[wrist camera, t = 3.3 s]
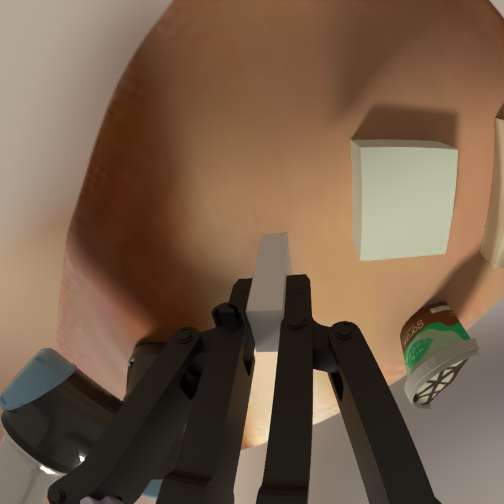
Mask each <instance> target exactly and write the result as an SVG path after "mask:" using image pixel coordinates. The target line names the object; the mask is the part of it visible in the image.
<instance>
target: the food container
mask: <svg viewBox="0 0 504 504" xmlns="http://www.w3.org/2000/svg"><path fill="white" fill-rule="evenodd" d="M400 339H401V344H402V349H403V354H404V359H405V364H406V370H407V376H408V380H407V382H406V384H405V393H406V395H407V397H408V399H409V401H410V402H411V403H412V404H413V406H414V407H416V408H419V409H431V406H430V402H431V401H432V400H433V398H434V397H435V396H436V395H437V394H438V393H439V392H440V391H442V390H443V389H444V388H446V387H447V386H448V385H449V384H450V383H451V382H452V381H453V380H454V378H455V377H456V375H457V374H458V372H459V371H460V369H461V368H462V366H463V365H464V364H465V362H466V361H467V360H468V359H469V358H470V357H474V356H479V353H478V345H477V341H476V339H475V338H474V339H470V337H469V336H468V334H467V333H466V331H465V329H464V328H463V326H462V325H461V323H460V322H459V320H458V319H457V317H456V316H455V314H454V313H453V311H452V310H451V308H450V307H449V305H448V304H447V302H439V303H435V304H432V305H429V306H427V307H425V308H423V309H421V310H419V311H418V312H417V313H415V314H414V315H413V316H412V317H410V319H409V320H408V321H407V322H406V323H405V325H404V326H403V328H402V330H401V334H400Z"/></svg>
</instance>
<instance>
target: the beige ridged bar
mask: <svg viewBox="0 0 504 504" xmlns="http://www.w3.org/2000/svg"><path fill="white" fill-rule="evenodd" d="M480 254H481V255H482V256H483V257H484V258H485V260H486V261H487V262H488V263H489V264H490V266H491V267H492V268H493V269H498V268H503V267H504V120H503V119H498V118H495V156H494V170H493V181H492V190H491V197H490V204H489V211H488V216H487V222H486V227H485V232H484V237H483V241H482V245H481V250H480Z"/></svg>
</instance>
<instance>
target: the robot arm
mask: <svg viewBox="0 0 504 504" xmlns="http://www.w3.org/2000/svg"><path fill="white" fill-rule="evenodd" d="M291 271H292V269H291V261H290V252H289V244H288V236H287V232H286V233H274V234H263V235H262V238H261V242H260V247H259V252H258V257H257V261H256V266H255V271H254V275H253V278H250V279H239V280H238V281H237V282H236V283H235V284H234V286H233V289H232V293H231V296H230V299H229V302H227V303H222V304H220V305H218V306H217V307H215V308H214V309H213V311H212V316H213V319H214V321H215V324H216V328H214V329H211V330H208V331H204V332H200V333H199V332H198V330H197V329H195V328H193V327H185V328H181V329H179V330H178V331H176V332H175V333H174V334H173V336H172V337H171V339H170V340H169V341H168V343H167V344H160V343H146V344H142V345H139V346H138V347H136V348H135V350H134V351H133V353H132V355H131V357H130V359H129V363H128V373H127V386H126V394H125V397H124V399H123V401H121V400H120V399H118V398H117V397H115V396H114V395H113V394H111V393H110V392H108V391H107V390H106V389H104V388H103V387H101V386H100V385H99V384H97V383H96V382H95V381H93V380H92V379H91V378H89V377H88V376H87V375H86V374H84V373H83V372H82V371H81V370H79V369H78V368H77V366H76V365H75V364H73V363H70V362H69V361H68V360H66V359H65V358H64V357H63V356H61V355H60V354H59V353H58V352H57V351H55V350H53V349H51V348H44V349H41V350H40V351H39V352H37V353H36V354H35V355H34V356H33V357H32V358H31V360H30V361H29V362H28V363H27V364H26V365H25V366H24V367H23V368H22V369H21V371H20V372H19V373H18V374H17V375H16V377H14V379H13V380H12V381H11V382H10V384H9V385H8V386H7V387H6V389H5V390H4V391H3V392H2V393H1V395H0V406H1V408H2V409H3V410H4V412H3V414H2V415H1V417H0V423H1V426H2V429H3V432H4V437H3V439H2V441H1V442H0V504H43V503H44V501H45V499H46V497H48V500H49V503H50V504H133V503H135V502H136V500H137V499H138V498H139V497H140V496H145V497H149V498H154V499H157V501H156V504H234V494H233V489H234V482H235V477H236V472H237V466H238V460H239V455H240V449H241V444H242V438H243V432H244V426H245V420H246V415H247V409H248V402H249V396H250V390H251V384H252V378H253V372H254V365H255V356H254V348H256V352H275V351H278V358H277V368H276V378H275V387H274V397H273V406H272V414H271V423H270V431H269V439H268V447H267V454H266V461H265V469H264V476H263V482H262V485H261V487H260V489H259V491H258V495H257V500H256V504H308V493H309V481H310V465H311V447H312V421H313V369H316V370H321V371H325V372H327V373H328V376H329V379H330V382H331V385H332V388H333V390H334V393H335V396H336V399H337V402H338V405H339V408H340V411H341V414H342V417H343V420H344V423H345V426H346V429H347V432H348V435H349V438H350V442H351V444H352V448H353V451H354V454H355V457H356V460H357V463H358V467H359V470H360V473H361V477H362V480H363V483H364V487H365V490H366V493H367V497H368V500H369V504H442V503H440V502H439V501H438V500H437V499H436V498H435V497H434V494H433V491H432V489H431V486H430V483H429V480H428V478H427V475H426V473H425V470H424V467H423V465H422V462H421V460H420V457H419V455H418V452H417V450H416V447H415V445H414V443H413V440H412V438H411V436H410V433H409V431H408V429H407V426H406V424H405V422H404V419H403V417H402V415H401V413H400V411H399V408H398V406H397V404H396V402H395V400H394V397H393V395H392V393H391V391H390V389H389V387H388V385H387V383H386V380H385V378H384V376H383V374H382V372H381V370H380V368H379V366H378V364H377V362H376V360H375V358H374V356H373V354H372V352H371V350H370V348H369V346H368V344H367V342H366V340H365V338H364V336H363V334H362V333H361V331H360V329H359V328H358V326H357V325H356V324H354V323H352V322H347V321H342V322H338V323H335V324H334V325H333V326H331V327H327V326H323V325H320V324H318V323H317V322H316V321H314V319H313V317H312V306H311V287H310V279H309V278H308V277H307V275H306V274H301V275H291ZM79 463H81V465H79V466H78V464H79ZM77 466H78V467H77ZM59 475H65V476H63V477H62V478H60V479H59V480H57V481H56V482H55V480H56V479H57V477H58V476H59Z"/></svg>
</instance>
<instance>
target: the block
mask: <svg viewBox="0 0 504 504" xmlns="http://www.w3.org/2000/svg"><path fill="white" fill-rule="evenodd" d="M350 144H351V160H352V184H353V243H354V246H355V248H356V251H357V254H358V257H359V259H360V261H368V260H381V259H392V258H404V257H415V256H426V255H437V254H445V253H446V248H447V243H448V238H449V232H450V226H451V220H452V213H453V206H454V197H455V188H456V177H457V161H458V149H455V148H453V147H451V146H449V145H446V144H444V143H442V142H439V141H426V140H394V139H372V140H350Z"/></svg>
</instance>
